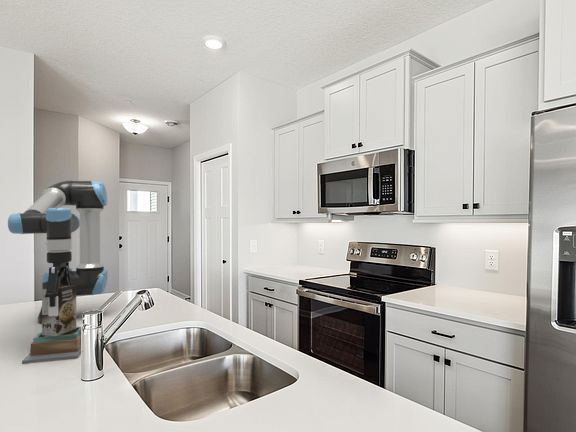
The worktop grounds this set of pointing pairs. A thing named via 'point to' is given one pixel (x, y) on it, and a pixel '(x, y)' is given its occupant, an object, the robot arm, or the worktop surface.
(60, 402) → the worktop surface
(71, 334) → the riser
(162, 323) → the worktop surface
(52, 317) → the coffee box
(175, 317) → the worktop surface
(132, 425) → the worktop surface
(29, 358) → the baseplate
